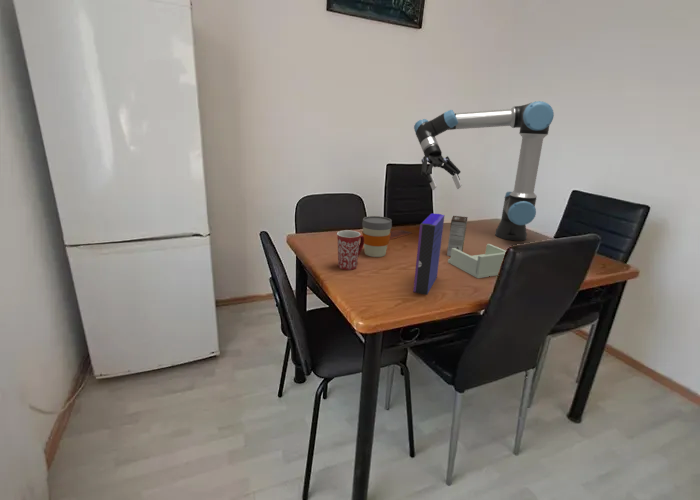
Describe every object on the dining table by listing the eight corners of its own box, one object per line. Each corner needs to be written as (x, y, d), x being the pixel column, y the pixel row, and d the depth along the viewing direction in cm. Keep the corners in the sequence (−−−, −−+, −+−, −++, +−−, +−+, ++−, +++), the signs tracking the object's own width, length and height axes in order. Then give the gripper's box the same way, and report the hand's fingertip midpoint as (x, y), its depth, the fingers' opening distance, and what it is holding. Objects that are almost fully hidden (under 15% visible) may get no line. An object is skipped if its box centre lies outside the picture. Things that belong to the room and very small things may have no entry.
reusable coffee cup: (395, 254, 171) (398, 220, 166) (377, 260, 162) (379, 225, 158) (373, 246, 179) (375, 214, 174) (354, 252, 170) (356, 219, 166)
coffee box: (448, 249, 180) (452, 215, 175) (462, 251, 178) (467, 216, 173) (446, 255, 172) (451, 219, 167) (461, 257, 170) (466, 221, 165)
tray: (485, 257, 172) (488, 238, 169) (517, 272, 157) (521, 251, 154) (447, 262, 164) (450, 242, 161) (477, 278, 149) (481, 257, 146)
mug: (346, 272, 149) (348, 238, 144) (331, 265, 155) (332, 232, 150) (370, 265, 157) (372, 232, 152) (354, 259, 163) (356, 227, 159)
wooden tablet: (378, 244, 186) (378, 240, 185) (363, 238, 193) (363, 235, 192) (415, 234, 203) (415, 231, 202) (400, 230, 210) (400, 227, 209)
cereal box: (424, 274, 150) (431, 212, 142) (437, 277, 148) (444, 214, 141) (413, 292, 135) (420, 223, 127) (427, 294, 133) (435, 225, 125)
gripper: (448, 154, 191) (464, 191, 183) (404, 154, 181) (419, 193, 173) (457, 144, 185) (474, 182, 177) (412, 143, 175) (428, 183, 167)
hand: (447, 187), depth 175 cm, fingers open, 13 cm apart
